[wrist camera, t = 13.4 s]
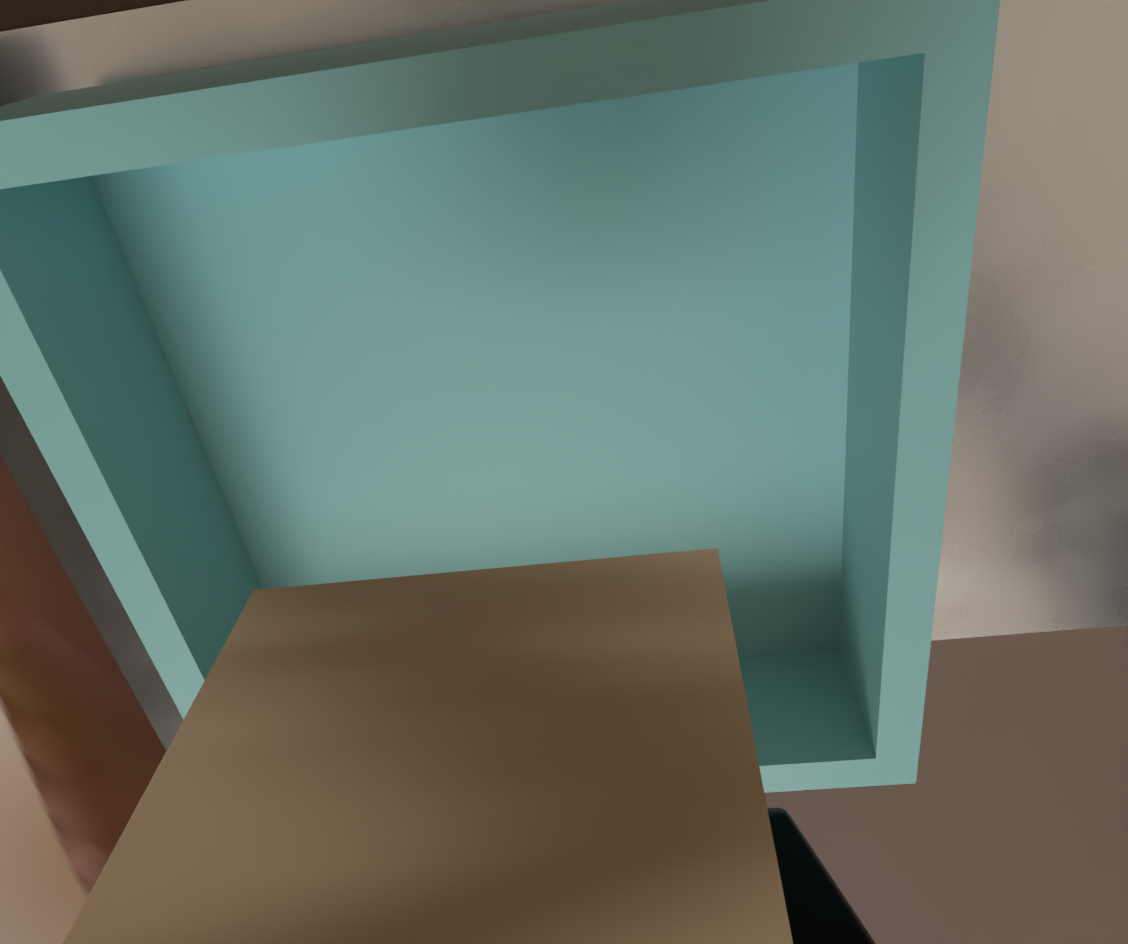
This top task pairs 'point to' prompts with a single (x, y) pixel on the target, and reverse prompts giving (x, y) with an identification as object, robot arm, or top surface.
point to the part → (461, 770)
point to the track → (993, 319)
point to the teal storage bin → (525, 327)
